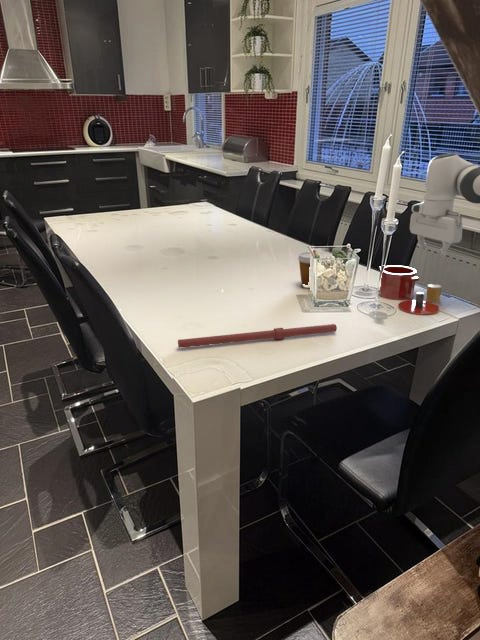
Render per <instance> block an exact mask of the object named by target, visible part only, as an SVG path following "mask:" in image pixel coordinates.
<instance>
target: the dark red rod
mask: <svg viewBox="0 0 480 640" xmlns="http://www.w3.org/2000/svg"><path fill="white" fill-rule="evenodd" d="M337 329H338V326H337V325H336V324H335V323H329V324H320V325H310V326H300V327H299V326H298V327H289V328H283V327H275V328H273V329H272V330H262V331H261V330H260V331H251V332H242V333H231V334H221V335H212V336H202V337H193V338H192V337H191V338H182V339H178V340H177V346H178V348H179V349H181V348H180V347H185V348H191V347H190V346H195V347H201V346H200V345H204V346H210V345H209V344H214V345H221V344H220V343H223V344H231V343H230V342H233V343H240V342H241V343H242V342H250V341H260V340H261V341H262V340H269V339H274V340H275V339H276V340H284V339H285V338H288V337H289V338H290V337H297V336H298V337H299V336H307V335H317V334H326V333H336V332H337Z"/></svg>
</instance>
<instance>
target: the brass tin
mask: <svg viewBox="0 0 480 640" xmlns="http://www.w3.org/2000/svg"><path fill="white" fill-rule="evenodd" d="M442 287H443V286H442V285H441V284H437V283H430V284H427V286H426V292H425V293H426V295H425V301H426V302H430V303H439V302H441V300H440V299H441V296H442V295H441V294H442Z"/></svg>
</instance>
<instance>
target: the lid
mask: <svg viewBox="0 0 480 640" xmlns="http://www.w3.org/2000/svg"><path fill="white" fill-rule="evenodd" d="M397 308H398V309H399V310H400V311H402V312H403V313H407V314H411V315H416V316H433V315H436V314H439V313H440V311H441V308H440V306H439V305H438V304H435V303H434V302H429V301H426V300H425V292H423V291H417V292H416V294H415V299H408V300H401V301H400V302H398V304H397Z"/></svg>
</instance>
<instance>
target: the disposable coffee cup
mask: <svg viewBox="0 0 480 640" xmlns="http://www.w3.org/2000/svg"><path fill="white" fill-rule="evenodd" d="M310 252H311V251H308V252H301V253H299V254H298V257H297V260H298V263H299V273H300V284H301V283H302V284H305V285H308V282H309V267H310ZM302 284H301V285H302Z"/></svg>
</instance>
